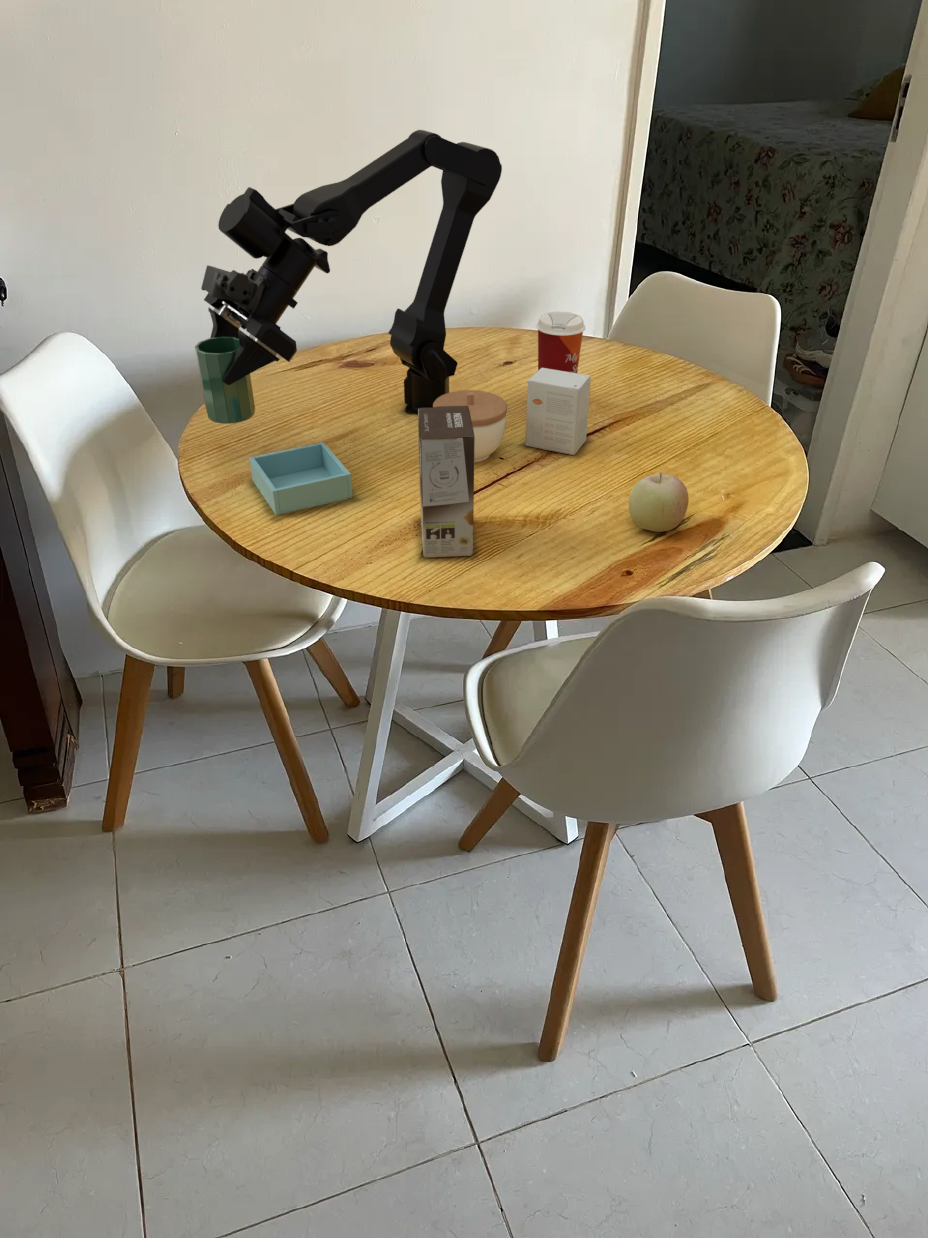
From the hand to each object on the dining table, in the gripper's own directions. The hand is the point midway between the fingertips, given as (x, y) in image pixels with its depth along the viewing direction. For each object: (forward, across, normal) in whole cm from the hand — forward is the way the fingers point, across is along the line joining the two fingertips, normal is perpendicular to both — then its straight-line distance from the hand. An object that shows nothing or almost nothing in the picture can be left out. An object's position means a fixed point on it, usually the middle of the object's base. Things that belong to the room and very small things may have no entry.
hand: (215, 374), depth 127 cm
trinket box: (-12, +18, +31) cm, 38 cm away
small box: (-21, +22, +40) cm, 50 cm away
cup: (+3, 0, +5) cm, 6 cm away
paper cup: (-28, +10, +47) cm, 55 cm away
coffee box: (-1, +36, +20) cm, 41 cm away
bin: (+6, +14, +12) cm, 20 cm away
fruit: (-18, +48, +37) cm, 64 cm away
